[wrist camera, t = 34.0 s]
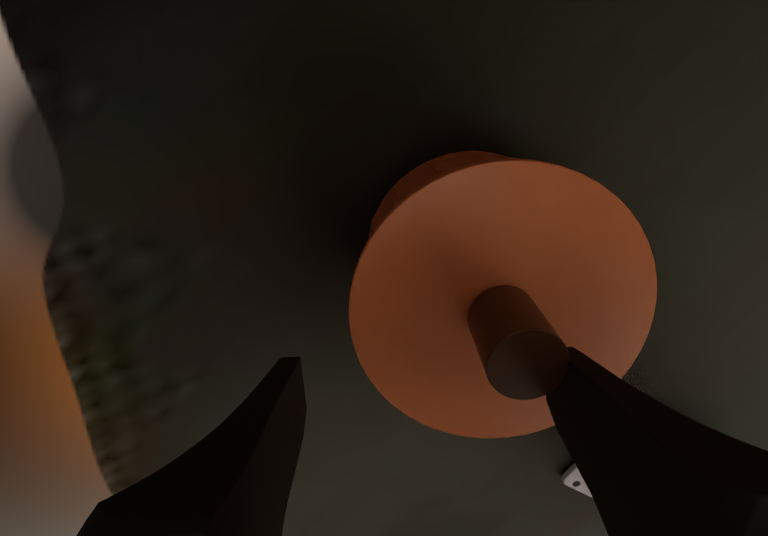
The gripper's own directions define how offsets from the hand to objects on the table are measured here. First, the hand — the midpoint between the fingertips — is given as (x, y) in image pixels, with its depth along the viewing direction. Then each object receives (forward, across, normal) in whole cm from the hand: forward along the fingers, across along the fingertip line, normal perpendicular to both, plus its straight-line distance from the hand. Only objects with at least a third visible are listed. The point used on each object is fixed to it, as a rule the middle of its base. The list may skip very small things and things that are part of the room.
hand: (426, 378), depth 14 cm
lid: (+3, -3, -1) cm, 4 cm away
